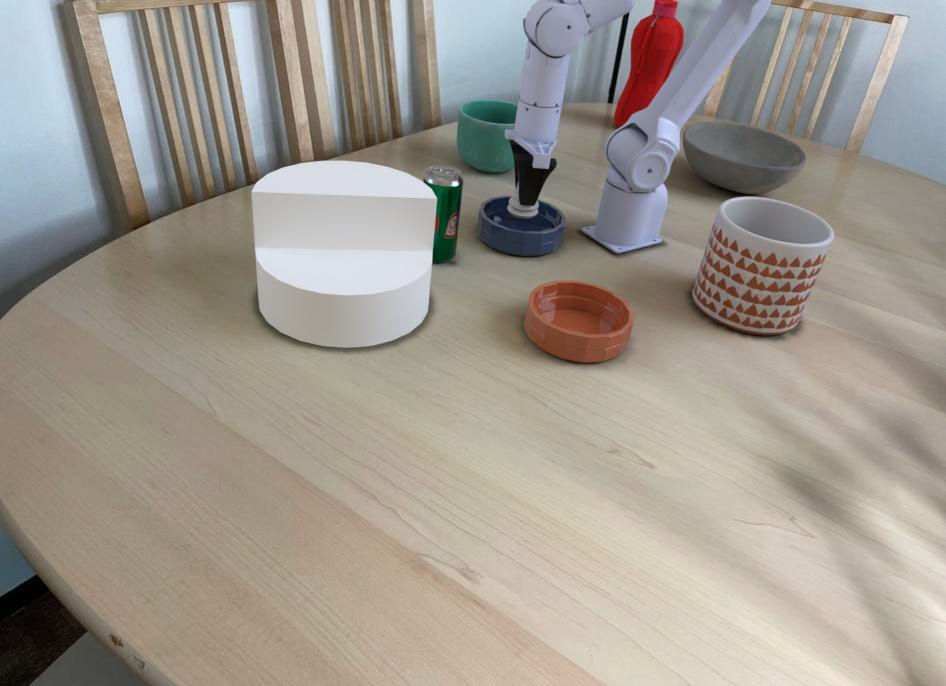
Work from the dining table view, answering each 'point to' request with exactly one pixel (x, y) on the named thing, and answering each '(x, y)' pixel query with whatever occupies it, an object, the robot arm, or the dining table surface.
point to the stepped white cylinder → (343, 251)
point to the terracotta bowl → (578, 321)
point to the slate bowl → (520, 228)
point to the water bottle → (650, 58)
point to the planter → (761, 264)
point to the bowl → (741, 156)
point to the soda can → (445, 209)
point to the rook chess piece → (521, 207)
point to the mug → (486, 134)
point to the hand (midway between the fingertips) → (525, 198)
